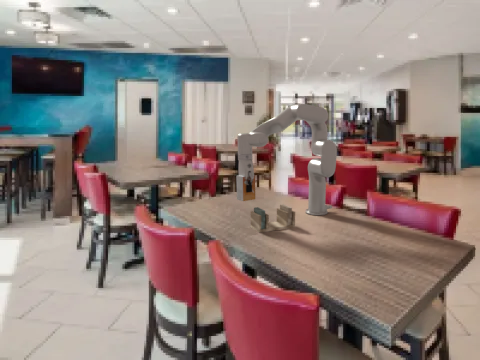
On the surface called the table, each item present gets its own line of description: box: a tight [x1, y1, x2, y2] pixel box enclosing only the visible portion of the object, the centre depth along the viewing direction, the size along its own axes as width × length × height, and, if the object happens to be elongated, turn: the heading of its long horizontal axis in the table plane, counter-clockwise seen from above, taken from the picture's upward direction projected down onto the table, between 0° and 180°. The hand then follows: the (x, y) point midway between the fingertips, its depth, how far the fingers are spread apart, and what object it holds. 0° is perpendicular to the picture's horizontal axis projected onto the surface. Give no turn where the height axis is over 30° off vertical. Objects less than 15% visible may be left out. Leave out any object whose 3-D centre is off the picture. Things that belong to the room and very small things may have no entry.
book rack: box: [250, 203, 296, 233], centre depth 191 cm, size 20×10×10 cm, turn 114°
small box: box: [235, 174, 256, 202], centre depth 200 cm, size 8×6×13 cm
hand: (246, 190), depth 200 cm, fingers closed on small box, 6 cm apart
